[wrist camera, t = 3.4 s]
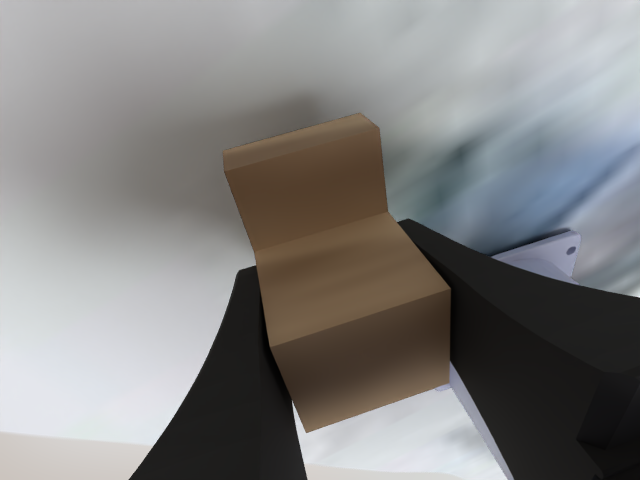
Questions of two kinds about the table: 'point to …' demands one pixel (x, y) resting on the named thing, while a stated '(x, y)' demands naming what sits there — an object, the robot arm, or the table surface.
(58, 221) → the table surface
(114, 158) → the table surface
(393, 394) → the wooden step block
